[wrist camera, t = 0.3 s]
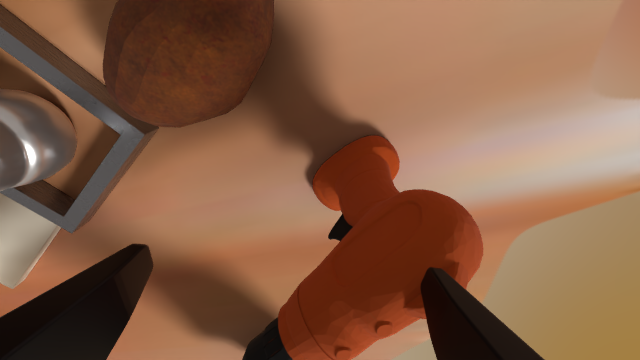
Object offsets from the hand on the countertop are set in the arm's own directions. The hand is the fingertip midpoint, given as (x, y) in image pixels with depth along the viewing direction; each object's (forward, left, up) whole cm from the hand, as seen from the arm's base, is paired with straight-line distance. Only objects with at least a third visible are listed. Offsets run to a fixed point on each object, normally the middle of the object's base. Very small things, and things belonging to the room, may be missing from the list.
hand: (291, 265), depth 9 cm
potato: (+5, +7, -15) cm, 17 cm away
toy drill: (-6, -2, -15) cm, 16 cm away
